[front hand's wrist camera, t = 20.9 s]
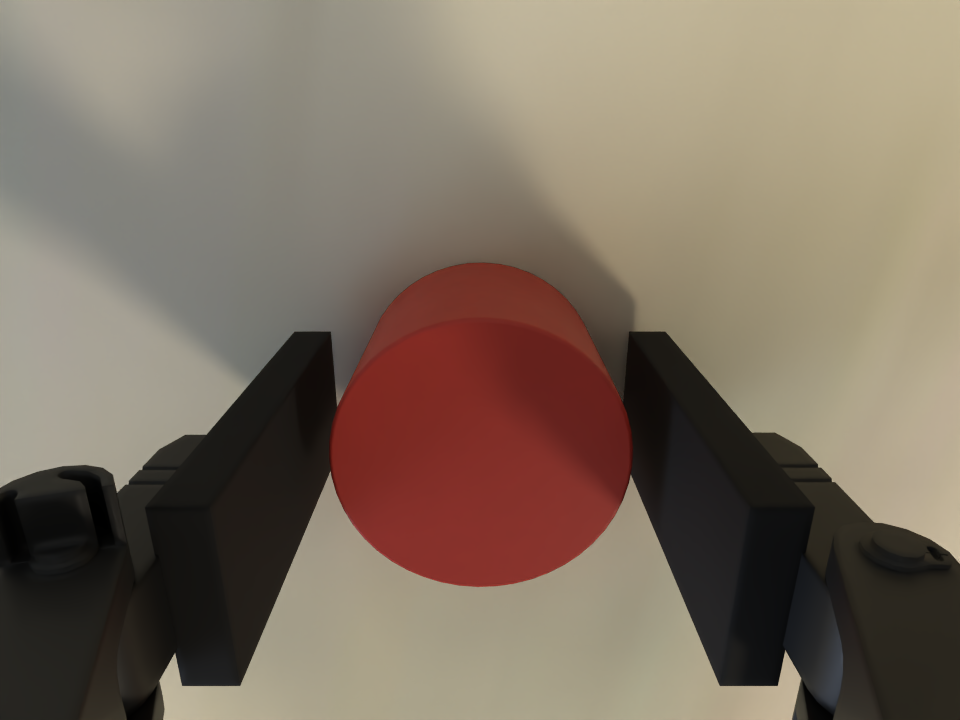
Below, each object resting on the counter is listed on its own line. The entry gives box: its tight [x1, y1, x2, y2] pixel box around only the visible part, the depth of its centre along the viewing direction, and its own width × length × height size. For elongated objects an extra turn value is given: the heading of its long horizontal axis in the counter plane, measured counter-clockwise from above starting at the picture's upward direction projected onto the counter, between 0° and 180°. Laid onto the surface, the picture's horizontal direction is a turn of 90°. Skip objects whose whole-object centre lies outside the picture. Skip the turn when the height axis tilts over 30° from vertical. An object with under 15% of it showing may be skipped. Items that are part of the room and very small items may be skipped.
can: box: [329, 263, 633, 587], centre depth 13 cm, size 5×5×4 cm
